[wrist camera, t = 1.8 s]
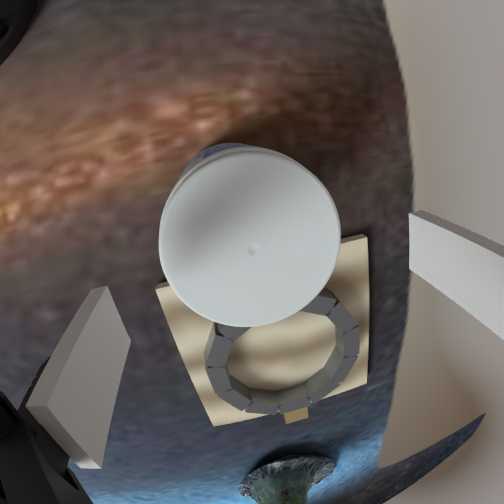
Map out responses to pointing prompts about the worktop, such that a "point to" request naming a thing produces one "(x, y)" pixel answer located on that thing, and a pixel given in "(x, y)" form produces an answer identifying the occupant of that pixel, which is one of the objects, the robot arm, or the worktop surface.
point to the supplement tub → (248, 235)
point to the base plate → (277, 339)
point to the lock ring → (294, 397)
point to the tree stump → (286, 479)
